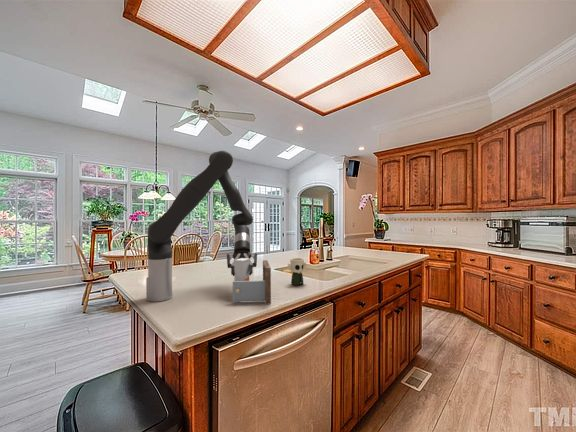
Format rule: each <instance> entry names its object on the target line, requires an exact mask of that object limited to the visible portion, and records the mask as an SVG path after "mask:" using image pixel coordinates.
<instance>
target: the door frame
mask: <svg viewBox="0 0 576 432" xmlns="http://www.w3.org/2000/svg"><path fill="white" fill-rule="evenodd" d="M271 270H272V268H271V265H270V264H269V262H268V259H266V260H265V259H263V260H262V281H265V291H266V301H265V304H266V305H270V304H272V291H271V290H272V283H271V282H272V280H271V279H272V273H271Z"/></svg>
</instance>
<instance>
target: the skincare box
mask: <svg viewBox="0 0 576 432" xmlns="http://www.w3.org/2000/svg"><path fill="white" fill-rule="evenodd" d="M233 262H234V276H233V278H234V280H233V281H250V275H249V259H248V258H240V259H237V260H234V259H233Z"/></svg>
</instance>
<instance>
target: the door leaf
mask: <svg viewBox="0 0 576 432" xmlns="http://www.w3.org/2000/svg"><path fill="white" fill-rule="evenodd" d="M242 302H243V303H247V302H266V291H265V281H263V280H249V281H234V280H233V281H232V303H242Z"/></svg>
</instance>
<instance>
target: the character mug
mask: <svg viewBox="0 0 576 432" xmlns="http://www.w3.org/2000/svg"><path fill="white" fill-rule="evenodd" d="M289 260H290V261H289V263H287V271H290V272H291V273H292V274H291V284H292V285H295V286H299V285H304V276H303V272H304V271H305V269H306V268H307V261H305V259H304V258H301V257H293V258H290V259H289Z"/></svg>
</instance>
